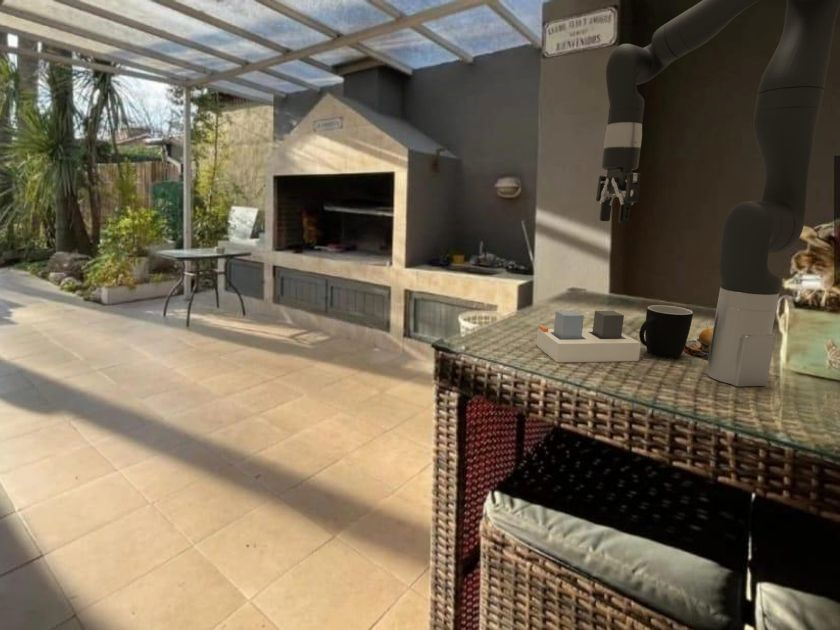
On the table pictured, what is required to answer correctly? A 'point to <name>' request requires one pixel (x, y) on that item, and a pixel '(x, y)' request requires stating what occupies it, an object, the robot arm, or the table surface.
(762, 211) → the robot arm
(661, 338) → the mug
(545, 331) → the white socket base
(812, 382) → the table surface
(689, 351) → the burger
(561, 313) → the plug
